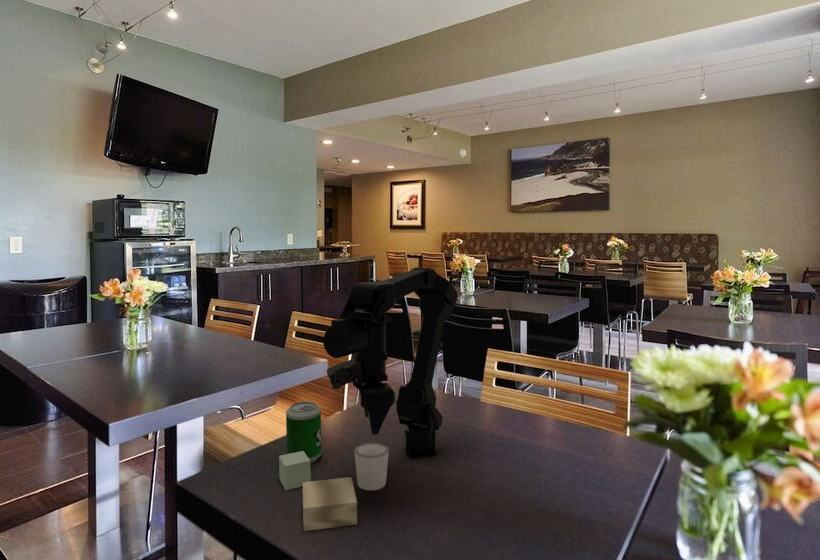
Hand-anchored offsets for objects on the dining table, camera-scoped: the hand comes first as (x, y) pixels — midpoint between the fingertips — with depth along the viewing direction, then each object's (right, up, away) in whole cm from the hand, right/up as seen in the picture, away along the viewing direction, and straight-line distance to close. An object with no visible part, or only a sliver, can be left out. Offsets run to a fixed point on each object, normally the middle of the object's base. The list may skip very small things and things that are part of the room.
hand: (371, 425), depth 99 cm
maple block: (-7, -13, -10) cm, 18 cm away
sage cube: (-15, -12, +2) cm, 20 cm away
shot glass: (0, -12, +1) cm, 12 cm away
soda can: (-16, -11, +12) cm, 23 cm away
